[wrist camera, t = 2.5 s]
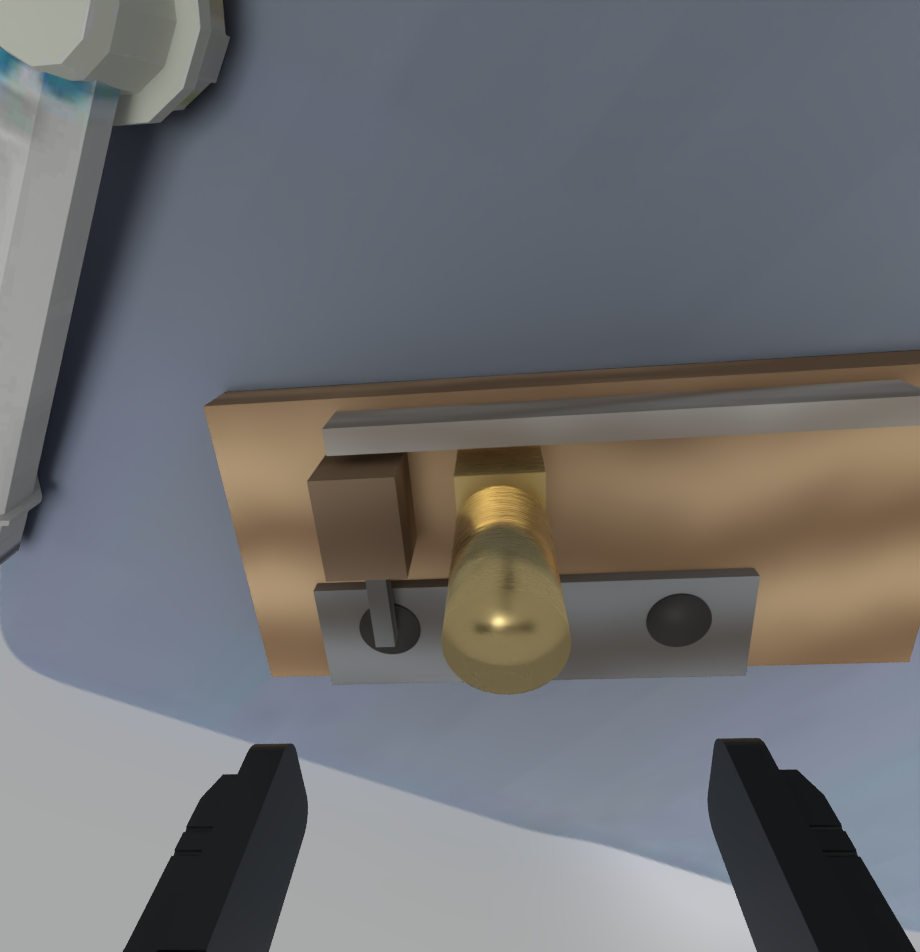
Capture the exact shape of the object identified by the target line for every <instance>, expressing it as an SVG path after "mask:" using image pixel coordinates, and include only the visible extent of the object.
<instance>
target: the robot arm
mask: <svg viewBox="0 0 920 952" xmlns="http://www.w3.org/2000/svg"><path fill="white" fill-rule="evenodd" d="M708 811H709V817H710V822H711V827H712V830H713V833H714V836H715V839H716V842H717V844H718V847H719V850H720V853H721V855H722V858H723V861H724V863H725V866H726V869H727V871H728V874H729V877H730V880H731V882H732V885H733V888H734V890H735V893H736V896H737V899H738V901H739V904H740V907H741V909H742V912H743V915H744V917H745V920H746V923H747V925H748V928H749V931H750V934H751V936H752V939H753V942H754V945H755V947H756V950H757V952H916V951H915V949H914V948H913V946H912V944H911V942H910V940H909V939H908V937H907V936H906V934H905V932H904V930H903V929H902V927H901V925H900V923H899V922H898V920H897V918H896V917H895V915H894V913H893V912H892V910H891V908H890V906H889V905H888V903H887V901H886V900H885V898H884V896H883V895H882V893H881V891H880V889H879V888H878V886H877V884H876V883H875V881H874V879H873V878H872V876H871V874H870V872H869V871H868V869H867V867H866V866H865V864H864V862H863V861H862V859H861V857H858V855H857V852H856V849H855V847H854V845H853V844H852V842H851V840H850V838H849V837H848V835H847V833H846V832H845V831H843V830H842V825H841V823H840V821H839V820H838V818H837V816H836V815H835V813H834V811H833V810H832V808H831V806H830V804H829V803H828V801H827V799H826V798H825V796H824V795H823V794H822V793H821V792H820V791H819V790H818V789H817V788H816V787H815V786H814V785H813V784H812V783H811V782H810V781H808V780H807V779H806V778H805V777H804V776H803V775H802V774H801V773H800V772H799V771H798V770H779V769H778V767H777V765H776V763H775V761H774V759H773V758H772V756H771V754H770V752H769V750H768V748H767V747H766V745H765V743H764V742H763V741H762V740H761V739H759V738H735V739H717V740H716V741H715V744H714V750H713V758H712V766H711V774H710V781H709V789H708ZM307 815H308V802H307V795H306V791H305V787H304V782H303V778H302V774H301V770H300V765H299V761H298V756H297V752H296V749H295V746H294V745H293V744H254V745H253V746H252V747H251V748H250V749H249V751H248V753H247V755H246V757H245V759H244V761H243V763H242V766H241V768H240V770H239V772H238V774H230V775H222V776H221V778H219V779H218V781H217V782H216V783H215V784H214V785H213V786H212V787H211V788H210V789H209V790H208V791H207V792H206V793H205V795H203V797H202V798H201V799H200V801H199V803H198V805H197V807H196V809H195V811H194V813H193V814H192V816H191V819H190V820H189V822H188V824H187V826H186V827H187V828H186V832H184V833H183V834H182V837H181V838H180V840H179V842H178V844H177V846H176V848H175V853H174V856H171V858H170V860H169V862H168V864H167V866H166V868H165V870H164V872H163V874H162V876H161V878H160V880H159V882H158V884H157V886H156V888H155V890H154V892H153V894H152V896H151V898H150V900H149V902H148V904H147V906H146V908H145V910H144V912H143V914H142V916H141V918H140V919H139V921H138V924H137V925H136V927H135V929H134V931H133V933H132V935H131V937H130V939H129V941H128V943H127V945H126V947H125V949H124V950H123V952H269V949H270V945H271V942H272V939H273V936H274V932H275V929H276V926H277V923H278V919H279V916H280V912H281V909H282V906H283V903H284V900H285V896H286V893H287V890H288V886H289V883H290V880H291V877H292V873H293V870H294V867H295V863H296V860H297V857H298V854H299V850H300V847H301V844H302V840H303V837H304V833H305V829H306V824H307Z"/></svg>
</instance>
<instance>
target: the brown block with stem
mask: <svg viewBox="0 0 920 952" xmlns="http://www.w3.org/2000/svg"><path fill="white" fill-rule="evenodd" d="M307 485H308V491H309V496H310V501H311V506H312V511H313V517H314V522H315V527H316V532H317V537H318V543H319V548H320V553H321V558H322V564H323V569H324V574H325V579H326V582H332V581H360V580H365V583H366V589H367V595H368V602H369V608H370V614H371V620H372V626H373V633H374V639H375V645H376V647H395V646H396V641H397V637H398V630H397V623H396V616H395V609H394V602H393V595H392V588H391V580H390V579H408V574H409V570H410V566H411V562H412V557H413V553H414V549H415V545H416V540H417V533H416V524H415V516H414V507H413V498H412V490H411V481H410V473H409V464H408V456H407V452H397V453H378V454H358V455H339V456H326V455H325V456H324V458H323V459H322V461H321V462H320V463H319V465H318V466H317V468H316V469H315V471H314V472H313V473H312V475H311V476H310V478H309V479H308V480H307Z"/></svg>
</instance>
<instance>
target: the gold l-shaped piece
mask: <svg viewBox="0 0 920 952" xmlns="http://www.w3.org/2000/svg"><path fill="white" fill-rule="evenodd" d="M454 486H455V498H456V510H457V518H456V523H455V531H454V540H453V548H452V556H451V565H450V573H449V581H448V589H447V598H446V606H445V614H444V622H443V631H442V639H441V642H442V651H443V655H444V657H445V660H446V662H447V664H448V666H449V667H450V668H451V670H452V671H453V672H454V673H455V674H456V675H457V676H458V677H459V678H460V679H461V680H463V681H464V682H466V683H467V684H469V685H470V686H473V687H475V688H477V689H479V690H482V691H485V692H490V693H495V694H519V693H525V692H528V691H532V690H534V689H537V688H539V687H541V686H543V685H545V684H547V683H548V682H549V681H551V680H552V679H553V678H554V677H556V676H557V675H558V674H559V672H560V671H561V670H562V669H563V667H564V666H565V664H566V662H567V660H568V658H569V654H570V650H571V635H570V630H569V624H568V619H567V614H566V608H565V603H564V598H563V592H562V587H561V582H560V576H559V571H558V566H557V560H556V555H555V550H554V544H553V539H552V534H551V528H550V523H549V519H548V515H547V513H546V472H545V467H544V462H543V457H542V453H541V448H540V445H533V446H513V447H494V448H475V449H458V451H457V458H456V465H455V471H454Z"/></svg>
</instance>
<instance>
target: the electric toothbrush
mask: <svg viewBox="0 0 920 952" xmlns="http://www.w3.org/2000/svg"><path fill="white" fill-rule="evenodd" d="M229 40H230V36H228V35H227V34H225V22H224V9H223V0H0V565H1V564H2V563H3V562H4V561H6V560H7V559H8V558H9V557H11V556H12V555H13V554H14V553H16V552H17V551H18V550H19V547H20V543H21V539H22V535H23V531H24V527H25V523H26V519H27V514H28V511H29V510H31V509H32V508H34V507H35V506H36V505H38V504H39V503H40V502H41V500H42V493H41V488H40V484H39V480H38V476H37V471H38V467H39V462H40V457H41V453H42V448H43V444H44V439H45V434H46V430H47V425H48V421H49V416H50V411H51V407H52V402H53V398H54V393H55V388H56V384H57V379H58V375H59V370H60V365H61V361H62V356H63V352H64V347H65V342H66V338H67V333H68V329H69V324H70V319H71V315H72V310H73V306H74V301H75V296H76V292H77V287H78V282H79V278H80V273H81V269H82V264H83V259H84V255H85V250H86V246H87V241H88V236H89V232H90V227H91V223H92V218H93V213H94V209H95V204H96V200H97V195H98V190H99V186H100V181H101V177H102V172H103V167H104V163H105V158H106V154H107V149H108V144H109V140H110V135H111V131H112V126H123V125H137V124H151V123H161V122H162V121H163V120H164V119H165V118H166V117H167V116H168V115H169V114H170V113H171V112H172V111H177V110H186V109H185V107H186V106H187V105H188V104H189V103H190V102H192V101H193V100H194V99H195V98H196V97H197V96H198V95H199V94H200V93H201V92H202V91H203V90H204V89H205V88H206V87H207V86H208V85H209V84H210V83H216V82H217V78H218V75H219V72H220V69H221V66H222V62H223V59H224V56H225V53H226V50H227V46H228V43H229Z"/></svg>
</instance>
